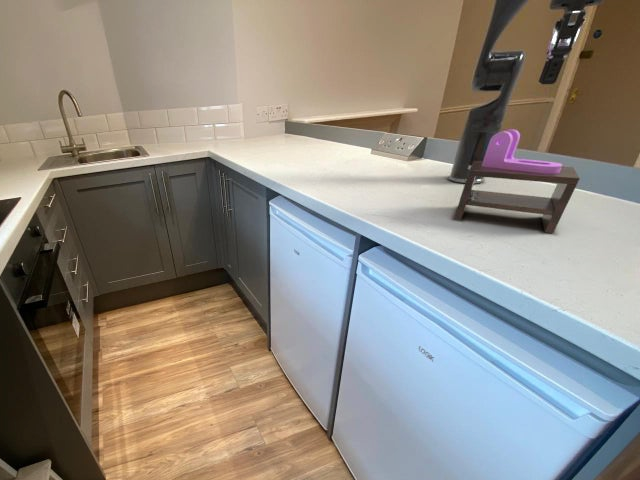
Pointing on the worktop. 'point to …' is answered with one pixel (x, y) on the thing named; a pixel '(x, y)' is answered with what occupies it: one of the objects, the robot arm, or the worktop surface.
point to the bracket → (503, 153)
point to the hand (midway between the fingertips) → (545, 83)
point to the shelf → (521, 203)
